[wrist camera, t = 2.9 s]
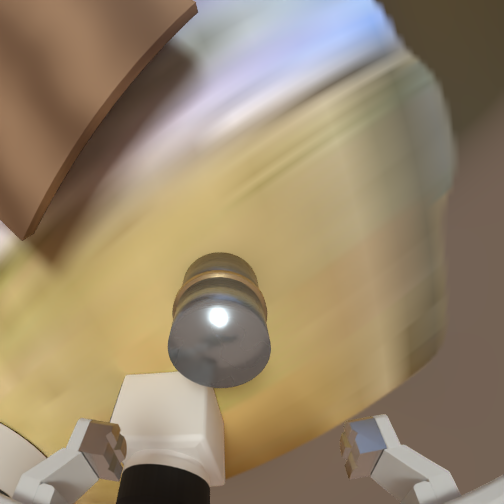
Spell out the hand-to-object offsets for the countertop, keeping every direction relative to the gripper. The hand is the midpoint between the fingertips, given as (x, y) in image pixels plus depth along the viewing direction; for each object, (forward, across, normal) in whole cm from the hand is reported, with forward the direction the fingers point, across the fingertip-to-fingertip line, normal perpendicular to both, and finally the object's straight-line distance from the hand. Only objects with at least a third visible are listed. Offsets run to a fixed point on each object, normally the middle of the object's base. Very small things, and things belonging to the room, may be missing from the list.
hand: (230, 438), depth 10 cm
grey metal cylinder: (+12, +1, 0) cm, 13 cm away
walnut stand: (+12, +13, -16) cm, 24 cm away
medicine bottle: (+13, +5, +11) cm, 18 cm away
